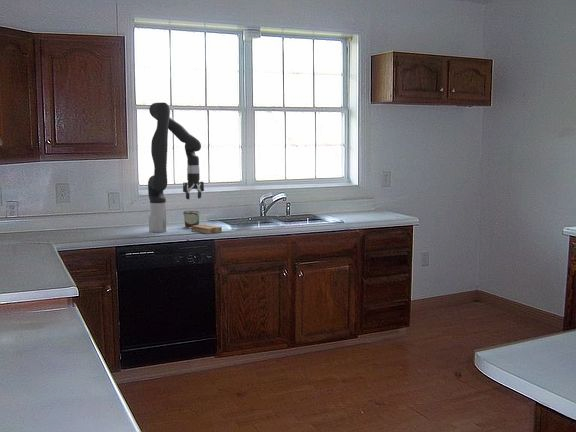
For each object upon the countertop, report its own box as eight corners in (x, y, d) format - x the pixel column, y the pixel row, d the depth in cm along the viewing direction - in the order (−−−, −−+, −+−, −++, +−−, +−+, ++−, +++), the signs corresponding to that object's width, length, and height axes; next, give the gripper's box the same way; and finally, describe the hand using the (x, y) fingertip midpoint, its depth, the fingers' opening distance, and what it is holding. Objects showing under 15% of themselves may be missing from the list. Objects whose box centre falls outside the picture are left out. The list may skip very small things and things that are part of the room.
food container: (205, 227, 390) (204, 211, 389) (198, 228, 385) (198, 212, 384) (189, 225, 397) (189, 210, 396) (183, 227, 392) (183, 211, 390)
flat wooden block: (208, 233, 365) (208, 228, 365) (191, 230, 376) (191, 225, 376) (221, 232, 372) (221, 227, 372) (205, 229, 383) (204, 224, 383)
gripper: (187, 173, 379) (187, 200, 381) (206, 172, 389) (206, 198, 391) (180, 172, 384) (180, 199, 386) (198, 171, 394) (199, 197, 396)
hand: (193, 198), depth 389 cm, fingers open, 8 cm apart
